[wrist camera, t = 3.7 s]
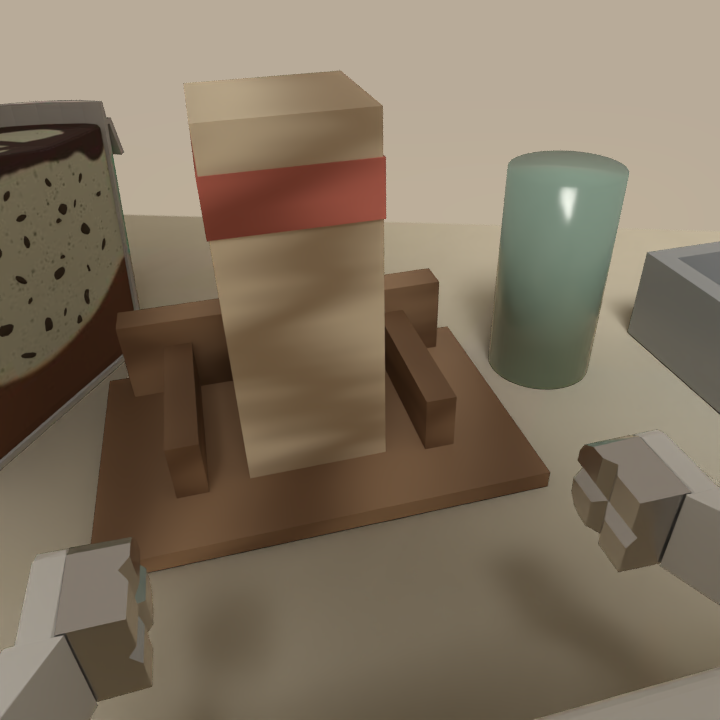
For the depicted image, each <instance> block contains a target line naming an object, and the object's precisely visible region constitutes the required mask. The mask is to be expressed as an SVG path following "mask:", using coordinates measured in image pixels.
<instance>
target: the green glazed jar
mask: <svg viewBox="0 0 720 720" xmlns="http://www.w3.org/2000/svg"><path fill="white" fill-rule="evenodd" d="M628 177H629V170H628V169H627V167H626V166H625V165H623V164H622V163H620V162H618V161H616V160H613V159H611V158H608V157H604V156H601V155H596V154H591V153H585V152H576V151H541V152H533V153H528V154H524V155H521V156H518V157H516V158H514V159H512V160H511V161H510V162H509V164H508V169H507V179H506V189H505V198H504V209H503V218H502V228H501V237H500V247H499V257H498V266H497V276H496V286H495V296H494V305H493V315H492V325H491V335H490V344H489V354H488V359H489V363H490V365H491V367H492V368H493V369H494V370H495V372H497V373H498V374H499V375H500V376H502V377H503V378H505V379H507V380H508V381H511V382H513V383H515V384H518V385H521V386H525V387H530V388H536V389H558V388H563V387H568V386H570V385H573V384H575V383H577V382H579V381H580V380H581V379H582V378H583V377H584V376H585V375H586V373H587V370H588V366H589V361H590V356H591V351H592V347H593V342H594V337H595V332H596V328H597V323H598V318H599V314H600V309H601V304H602V299H603V295H604V290H605V285H606V281H607V276H608V271H609V266H610V262H611V257H612V252H613V248H614V243H615V238H616V233H617V229H618V223H619V219H620V214H621V210H622V205H623V200H624V196H625V191H626V186H627V181H628Z"/></svg>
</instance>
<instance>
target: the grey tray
mask: <svg viewBox="0 0 720 720" xmlns="http://www.w3.org/2000/svg"><path fill="white" fill-rule="evenodd" d="M628 333H629V334H630V335H631V336H633V337H634V338H635V339H636V340H637V341H638V342H639V343H641V344H642V345H643V346H644V347H645V348H646V349H647V350H649V351H650V352H651V353H652V354H653V355H654V356H655V357H656V358H658V359H659V360H660V361H661V362H662V363H663V364H664V365H666V366H667V367H668V368H669V369H670V370H671V371H672V372H673V373H675V374H676V375H677V376H678V377H679V378H680V379H681V380H683V381H684V382H685V383H686V384H687V385H688V386H689V387H691V388H692V389H693V390H694V391H695V392H696V393H697V394H698V395H700V396H701V397H702V398H703V399H704V400H705V401H706V402H708V403H709V404H710V405H711V406H712V407H713V408H714V409H715V410H717V411H718V412H719V413H720V242H713V243H706V244H699V245H693V246H686V247H679V248H672V249H666V250H659V251H652V252H647V255H646V259H645V263H644V267H643V271H642V275H641V279H640V283H639V287H638V291H637V296H636V300H635V304H634V308H633V312H632V316H631V320H630V324H629V328H628Z"/></svg>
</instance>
